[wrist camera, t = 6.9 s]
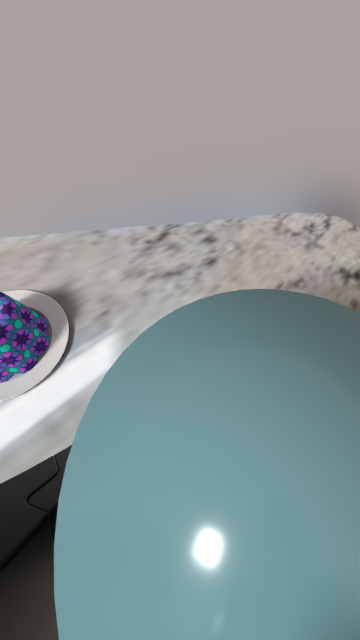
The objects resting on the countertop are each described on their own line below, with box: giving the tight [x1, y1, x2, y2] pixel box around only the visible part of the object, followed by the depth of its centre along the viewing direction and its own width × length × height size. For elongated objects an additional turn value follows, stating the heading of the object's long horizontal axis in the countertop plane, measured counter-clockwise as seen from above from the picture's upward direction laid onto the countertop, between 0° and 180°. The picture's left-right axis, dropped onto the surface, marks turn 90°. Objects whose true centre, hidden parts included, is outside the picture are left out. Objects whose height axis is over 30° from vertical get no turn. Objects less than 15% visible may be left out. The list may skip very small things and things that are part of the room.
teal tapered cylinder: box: [54, 289, 360, 640], centre depth 9 cm, size 6×6×13 cm
